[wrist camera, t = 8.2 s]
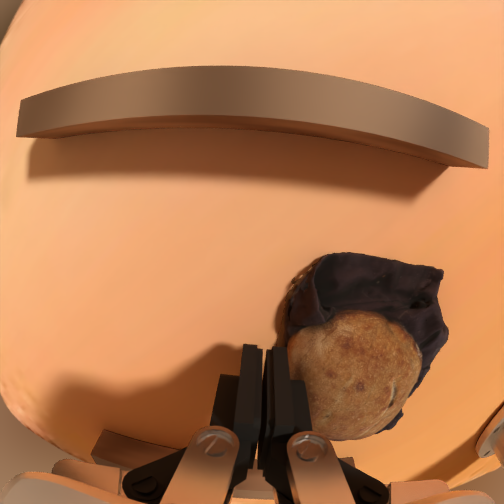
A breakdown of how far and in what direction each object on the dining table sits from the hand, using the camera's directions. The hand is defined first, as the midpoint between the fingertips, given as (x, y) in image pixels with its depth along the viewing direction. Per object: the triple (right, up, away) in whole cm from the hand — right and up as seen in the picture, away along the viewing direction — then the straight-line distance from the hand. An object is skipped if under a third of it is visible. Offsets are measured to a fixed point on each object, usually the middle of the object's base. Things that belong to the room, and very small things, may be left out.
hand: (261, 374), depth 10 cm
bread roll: (+5, 0, +2) cm, 5 cm away
